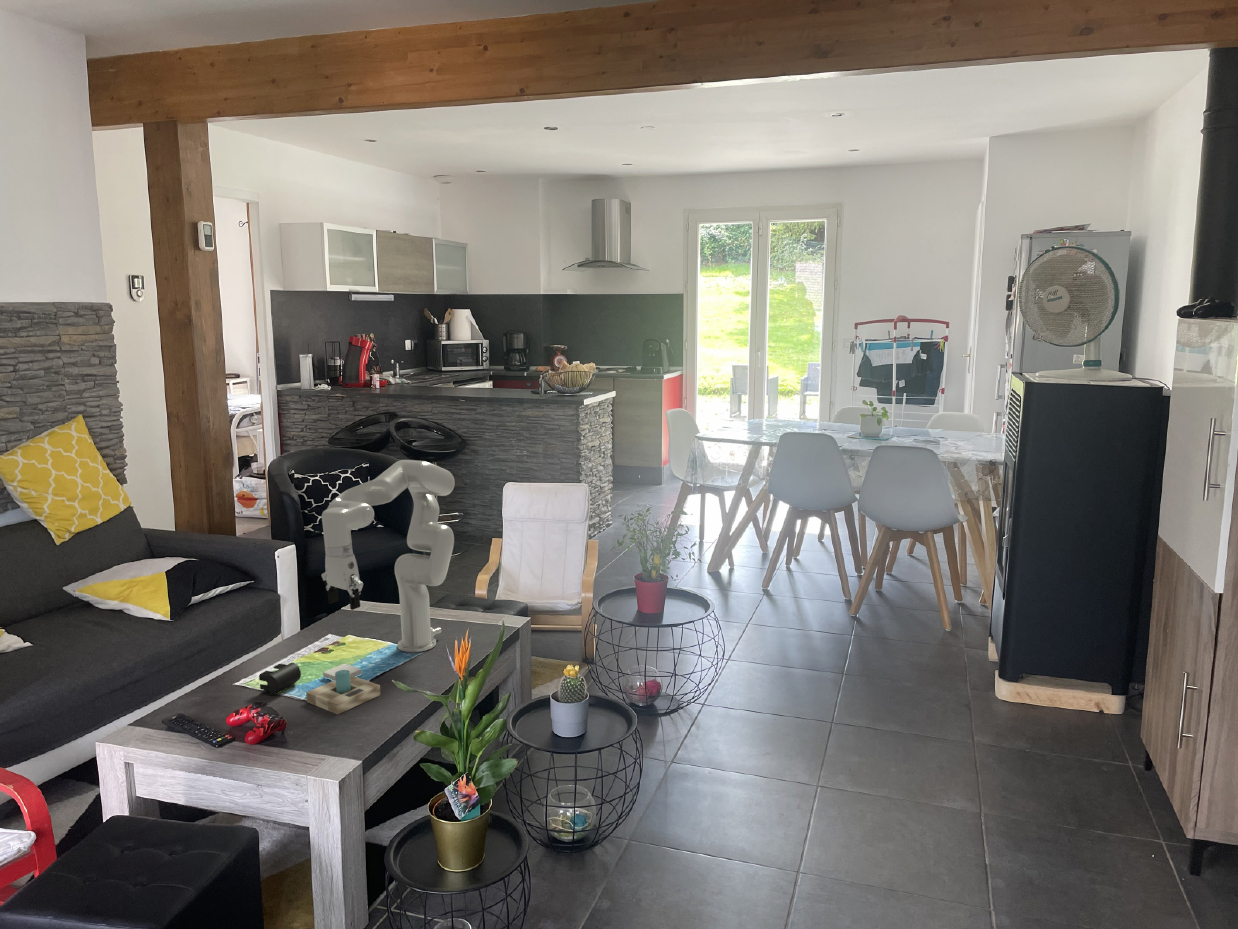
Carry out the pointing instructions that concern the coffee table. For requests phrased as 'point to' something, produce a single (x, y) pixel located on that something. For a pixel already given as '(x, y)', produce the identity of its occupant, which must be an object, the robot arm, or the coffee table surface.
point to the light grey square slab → (351, 669)
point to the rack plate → (343, 695)
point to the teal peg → (342, 681)
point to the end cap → (279, 678)
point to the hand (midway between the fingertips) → (344, 605)
